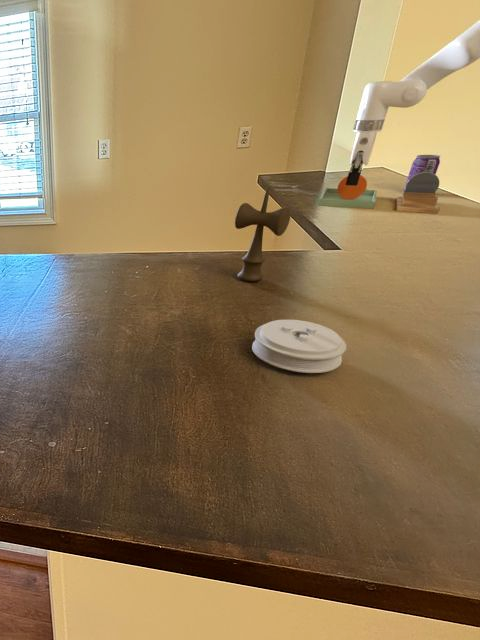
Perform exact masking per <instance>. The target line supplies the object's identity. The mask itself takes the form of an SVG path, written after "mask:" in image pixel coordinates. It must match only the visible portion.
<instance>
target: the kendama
mask: <svg viewBox="0 0 480 640" xmlns="http://www.w3.org/2000/svg"><path fill="white" fill-rule="evenodd" d="M270 190H271V189H270V187H267V188H266V189H265V192H264V195H263V200H262V205H261V209H260V210H258V209H256V208H255V207H253V206H252V205H251V204H249V203H248V202H244V203H242V204H241V205H239V207H238V209H237V210H236V214H235V217H234V227H235V228H236V229H237V230H240V229H245V228H247V227H250V226H256V227H255V231H254V235H253V237H252V241H251V243H250V246H249V249H248V250H247V253H246V254H245V255H243V256H242V257H241V260H242V262H243V267H242V270H241V271H239V272H238V273H237V278H238V279H240V280H242V281H245V282H259V281H261V280H263V279H264V275H263V273H262V265H263V263H265V261H266V258H265V257H264V256H263V240H264V239H263V237H264V229H265V228H268V229H269V230H270V231H271V232H272V233H273V234H274V235H275V236H277V237H280V236H282V235H283V234H284V233H285V232H286V230H287V228H288V226H289V223H290V220H291V215H292V209H291V207H290V206H288V205H286V206H283V207H280V208H279V209H276V210H274V211H270V212H268V211H267V208H268V203H269V197H270ZM264 227H265V228H264Z"/></svg>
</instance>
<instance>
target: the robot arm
mask: <svg viewBox="0 0 480 640" xmlns="http://www.w3.org/2000/svg"><path fill="white" fill-rule="evenodd" d="M479 59H480V19H479V20H477V21H476V22H475V23H474V24H472V25H471V26H470V27H469V28H467V29H466V30H465V31H463V32H462V33H461V34H459V35H458V36H456V38H454V39H453V40H452V41H450V42H449V43H448V44H446V45H445V46H444V47H442V48H441V49H440V50H439V51H437V52H436V53H435V54H433V55H432V56H430V57H429V58H428V59H427V60H425V61H424V62H422V63H421V64H420V65H418V66H417V67H416V68H415V69H413V70H412V71H411V72H409V73H408V74H407V75H405V76H404V77H403V78H401V79H400V80H399V81H392V80H385V81H384V80H382V81H381V80H380V81H371V82H369V83H367V84H366V85H365V87H364V89H363V93H362V95H361V100H360V104H359V106H358V112H357V115H356V118H355V122H354V125H353V129H352V132H354V133H356V134H355V138H354V142H353V145H352V149H351V154H350V161H349V165H350V166H351V167H350V169H349V171H348V173H347V176H348V177H347V181H346V185H351V186H356V185H357V184H358V181H359V177H360V175H362V174H361V173H362V170H363V165H364V166H368V165H369V162H370V158H371V155H372V152H373V149H374V145H375V142H376V139H377V133H378V132H382V130H383V128H384V123H385V120H386V117H387V114H388V110H389V108H400V109H402V108H404V109H407V108H411V107H414V106H416V105H418V104H419V103H420V102H421V101H423V99H424V98H425V96H426V94H427V92H428V90H430V89H431V88H432V87H433V86H435V85H437V84H438V83H439V82H441V81H442V80H444V79H445V78H447V77H448V76H450V75H451V74H453V73H455V72H457V71H460V70H462V69H464V68H466V67H468V66H470V65H471V64H473V63H475V62H477V61H478V60H479Z"/></svg>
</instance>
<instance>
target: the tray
mask: <svg viewBox="0 0 480 640" xmlns="http://www.w3.org/2000/svg"><path fill="white" fill-rule="evenodd" d="M377 191H378V189H366V190H365V191H364V193H363V194H362V195H361V196H359V197H357V198H355V199H344V198H342V197H341V196H340V195H339V194H338V191H337V188H334V187H333V188H332V187H325V188H324V190H323V192H322V193H321V195H320V198H319V200H318V203H317V206H323V207H337V208H339V207H340V208H341V207H342V208H358V209H374V208H375V204H376V200H377Z"/></svg>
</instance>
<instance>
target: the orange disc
mask: <svg viewBox="0 0 480 640" xmlns="http://www.w3.org/2000/svg"><path fill="white" fill-rule="evenodd" d="M347 177H348V175H346V176H344V177H343V178H342V179H340V181H339V183H338V184H337V188H336V189H337V191H338V194H339V195H340V196H341V197H342V198H344V199H355V198H357V197H359V196H361V195H362V194H363V193H364V191H365V190H367V188H368V187H367V186H368V181H367V179H366V177H364V176H363V175H362V174H360V177H359V181H358V184H357V185H356V186H351V185H346V181H347Z"/></svg>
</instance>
